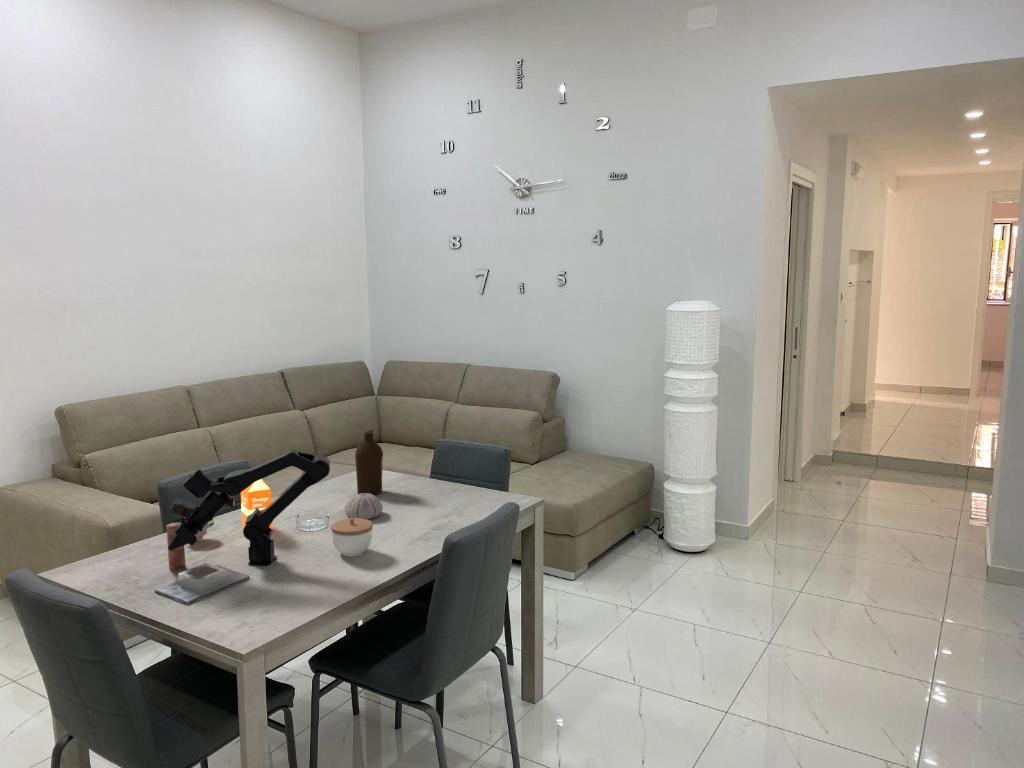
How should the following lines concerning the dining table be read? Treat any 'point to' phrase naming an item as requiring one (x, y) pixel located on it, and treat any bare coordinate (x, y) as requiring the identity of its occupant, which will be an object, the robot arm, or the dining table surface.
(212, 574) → the dock
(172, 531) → the peg
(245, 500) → the orange juice
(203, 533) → the showerhead
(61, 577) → the dining table surface
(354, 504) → the sea urchin shell
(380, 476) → the olive oil
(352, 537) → the lidded bowl
